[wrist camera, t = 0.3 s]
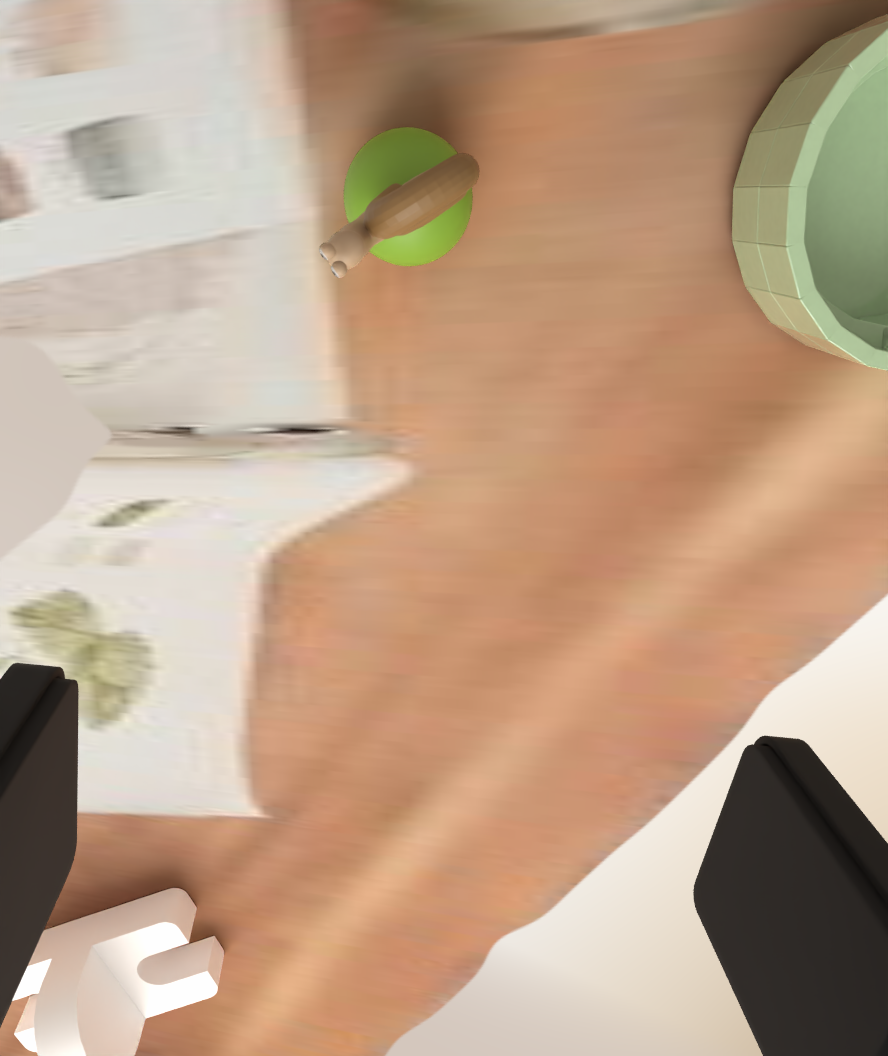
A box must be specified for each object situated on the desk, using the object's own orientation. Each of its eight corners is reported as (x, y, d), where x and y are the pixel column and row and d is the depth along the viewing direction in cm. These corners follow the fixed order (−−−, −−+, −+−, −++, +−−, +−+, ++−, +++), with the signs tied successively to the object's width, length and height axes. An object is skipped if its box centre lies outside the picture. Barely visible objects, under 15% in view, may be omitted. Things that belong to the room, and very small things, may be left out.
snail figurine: (303, 190, 36) (274, 188, 25) (423, 106, 35) (448, 65, 24) (371, 296, 38) (373, 337, 27) (487, 218, 37) (536, 228, 26)
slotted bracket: (46, 1017, 54) (-3, 1143, 47) (-9, 947, 51) (-71, 1070, 44) (228, 957, 53) (207, 1076, 46) (181, 884, 51) (151, 998, 43)
